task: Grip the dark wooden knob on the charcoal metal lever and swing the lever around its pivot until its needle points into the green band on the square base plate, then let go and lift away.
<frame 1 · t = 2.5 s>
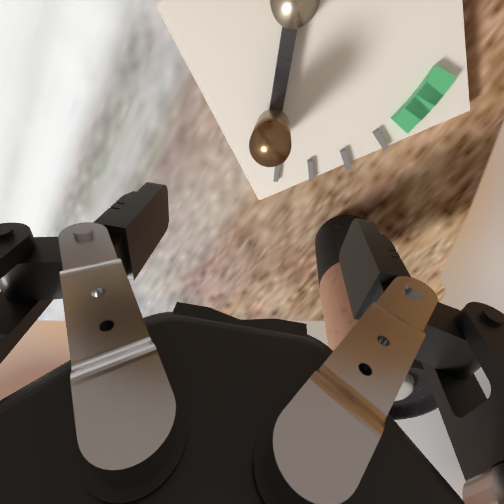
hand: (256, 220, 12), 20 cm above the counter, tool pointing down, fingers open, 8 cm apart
travel mug: (342, 238, 36), on the counter
dial lever: (280, 81, 21), point 5 cm above the counter, hinge at -35.0°
square base plate: (293, 3, 23), on the counter
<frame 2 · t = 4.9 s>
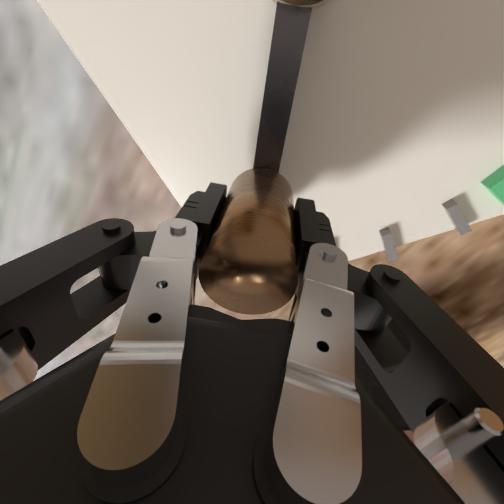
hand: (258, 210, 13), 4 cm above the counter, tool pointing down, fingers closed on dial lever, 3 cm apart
travel mug: (370, 335, 24), on the counter
dial lever: (273, 127, 9), point 5 cm above the counter, hinge at -35.0°, touching gripper
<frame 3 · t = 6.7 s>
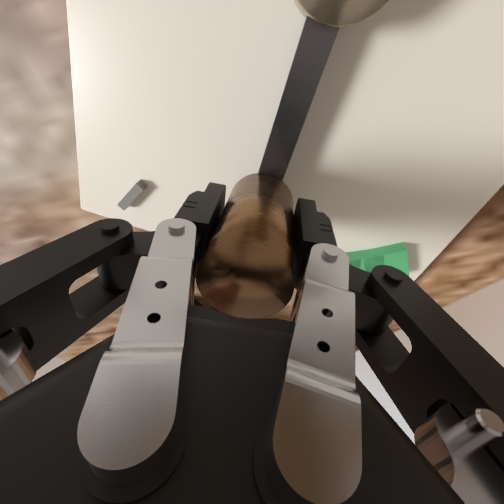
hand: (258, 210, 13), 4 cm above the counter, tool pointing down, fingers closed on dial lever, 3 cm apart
dial lever: (287, 138, 10), point 5 cm above the counter, hinge at 1.5°, touching gripper
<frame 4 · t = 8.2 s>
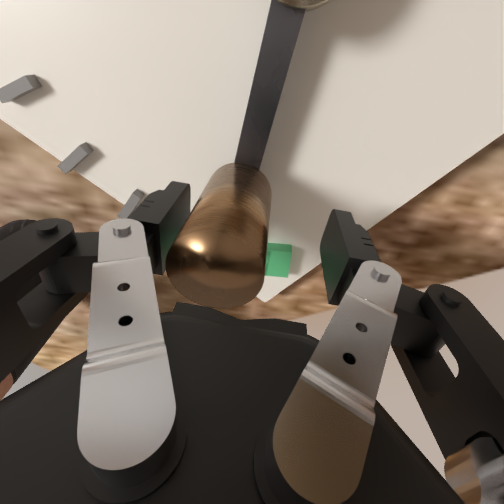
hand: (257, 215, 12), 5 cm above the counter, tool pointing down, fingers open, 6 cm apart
travel mug: (50, 256, 22), on the counter
dial lever: (256, 123, 9), point 5 cm above the counter, hinge at 26.0°
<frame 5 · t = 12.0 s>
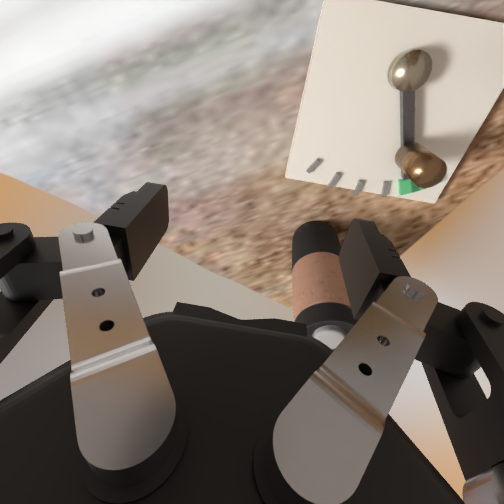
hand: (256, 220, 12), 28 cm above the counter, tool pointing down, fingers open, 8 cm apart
travel mug: (314, 238, 46), on the counter
dial lever: (417, 127, 29), point 5 cm above the counter, hinge at 26.0°
square base plate: (399, 69, 31), on the counter
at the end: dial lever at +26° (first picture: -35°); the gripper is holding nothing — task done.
